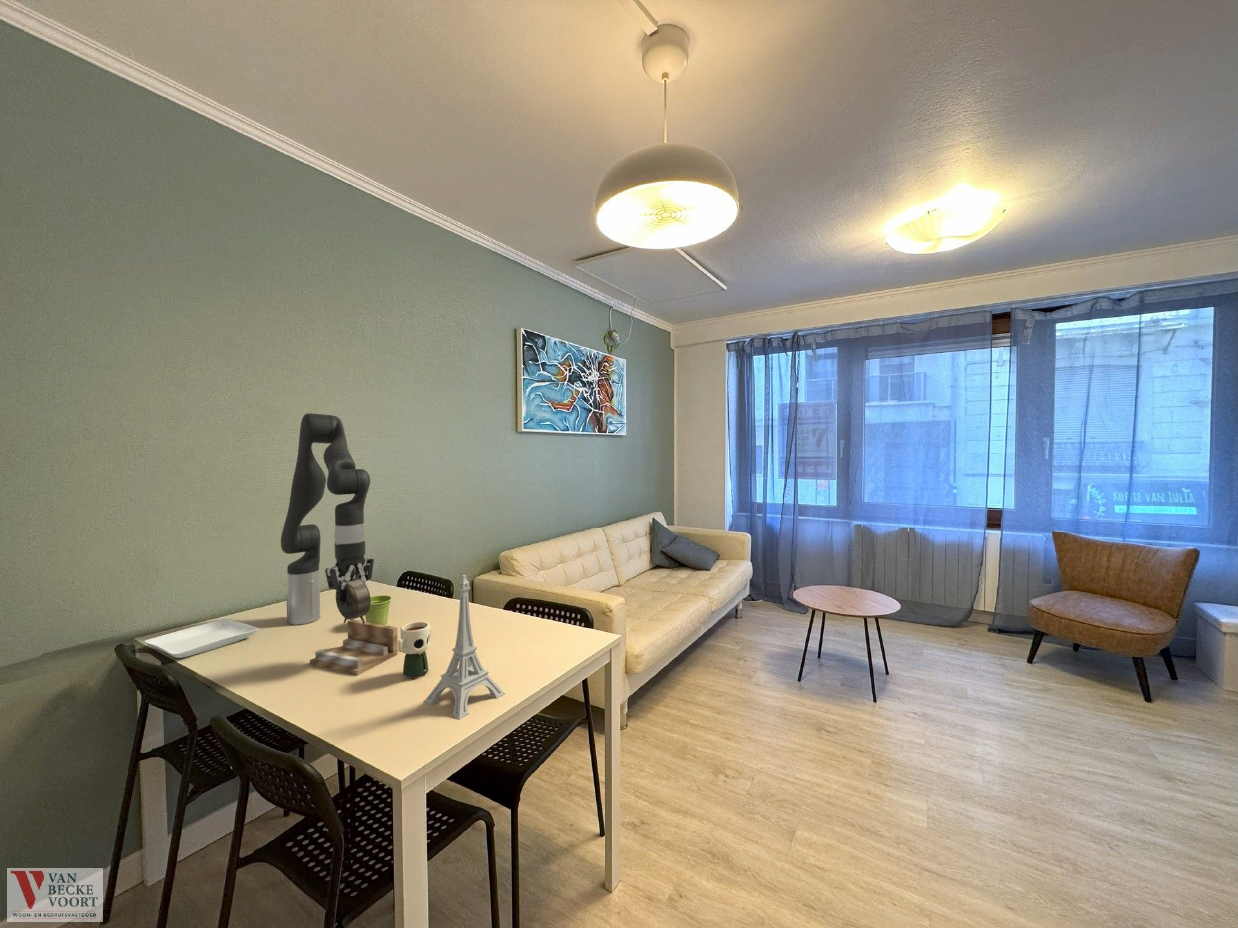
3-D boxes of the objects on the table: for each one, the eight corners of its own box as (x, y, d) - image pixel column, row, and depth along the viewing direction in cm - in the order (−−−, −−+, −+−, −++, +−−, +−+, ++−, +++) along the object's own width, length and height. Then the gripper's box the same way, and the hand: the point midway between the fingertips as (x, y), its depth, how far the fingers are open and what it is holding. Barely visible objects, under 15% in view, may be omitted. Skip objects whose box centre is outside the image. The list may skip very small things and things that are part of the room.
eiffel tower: (470, 679, 124) (469, 565, 123) (505, 694, 116) (504, 573, 115) (423, 701, 113) (422, 577, 112) (459, 720, 105) (457, 586, 104)
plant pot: (398, 620, 166) (397, 595, 166) (382, 630, 156) (381, 604, 156) (372, 619, 167) (372, 594, 166) (355, 629, 157) (354, 603, 157)
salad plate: (142, 650, 142) (141, 639, 141) (227, 626, 160) (227, 616, 160) (174, 666, 132) (173, 653, 132) (260, 638, 151) (260, 627, 150)
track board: (309, 664, 132) (309, 635, 132) (352, 645, 145) (351, 619, 144) (357, 675, 126) (356, 645, 125) (397, 654, 138) (397, 627, 138)
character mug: (409, 686, 120) (409, 635, 119) (389, 680, 123) (388, 631, 122) (441, 667, 130) (440, 620, 130) (421, 663, 133) (420, 617, 132)
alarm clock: (372, 622, 134) (371, 565, 133) (352, 628, 129) (352, 569, 129) (351, 615, 139) (350, 560, 139) (331, 620, 135) (331, 564, 134)
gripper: (362, 534, 141) (363, 590, 142) (316, 543, 128) (317, 605, 129) (381, 536, 139) (382, 593, 139) (336, 545, 125) (337, 609, 126)
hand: (351, 599), depth 134 cm, fingers closed on alarm clock, 5 cm apart
